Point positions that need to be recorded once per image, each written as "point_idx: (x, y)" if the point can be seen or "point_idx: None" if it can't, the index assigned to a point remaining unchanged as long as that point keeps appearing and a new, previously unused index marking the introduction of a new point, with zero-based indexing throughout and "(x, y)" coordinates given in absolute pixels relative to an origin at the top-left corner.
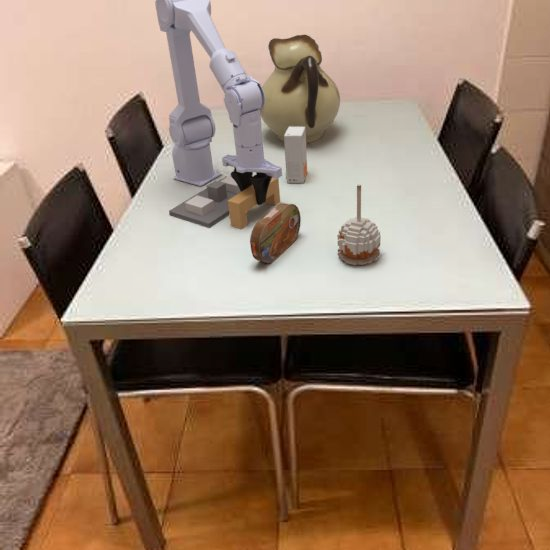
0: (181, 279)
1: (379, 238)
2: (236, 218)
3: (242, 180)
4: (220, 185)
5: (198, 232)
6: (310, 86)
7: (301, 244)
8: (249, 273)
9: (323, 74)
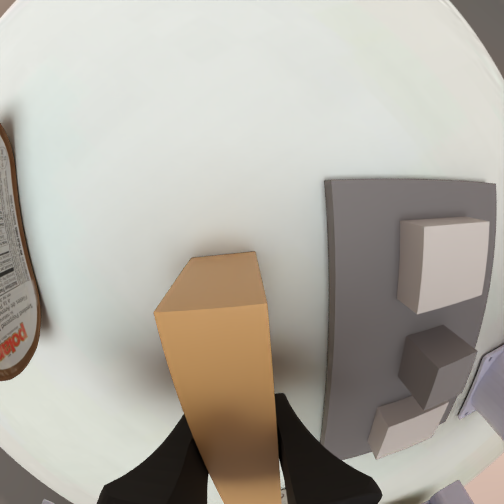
0: None
1: None
2: (209, 269)
3: (290, 484)
4: (434, 391)
5: (334, 126)
6: None
7: None
8: (12, 92)
9: None
